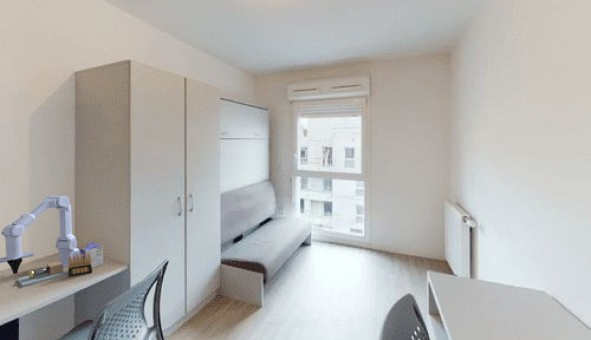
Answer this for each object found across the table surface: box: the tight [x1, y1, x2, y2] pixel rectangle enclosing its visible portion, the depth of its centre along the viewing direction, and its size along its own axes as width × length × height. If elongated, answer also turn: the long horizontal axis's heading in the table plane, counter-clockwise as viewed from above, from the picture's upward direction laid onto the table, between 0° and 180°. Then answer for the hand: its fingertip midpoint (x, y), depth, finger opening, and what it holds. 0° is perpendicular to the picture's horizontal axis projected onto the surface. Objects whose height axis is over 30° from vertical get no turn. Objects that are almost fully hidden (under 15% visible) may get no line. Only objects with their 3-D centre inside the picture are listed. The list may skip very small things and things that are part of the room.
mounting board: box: [17, 260, 68, 288], centre depth 151 cm, size 18×12×6 cm, turn 144°
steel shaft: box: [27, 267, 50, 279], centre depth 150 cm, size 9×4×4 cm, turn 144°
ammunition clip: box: [67, 253, 93, 278], centre depth 156 cm, size 11×2×12 cm, turn 121°
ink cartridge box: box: [80, 242, 104, 269], centre depth 166 cm, size 10×6×14 cm, turn 155°
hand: (15, 273), depth 142 cm, fingers closed
